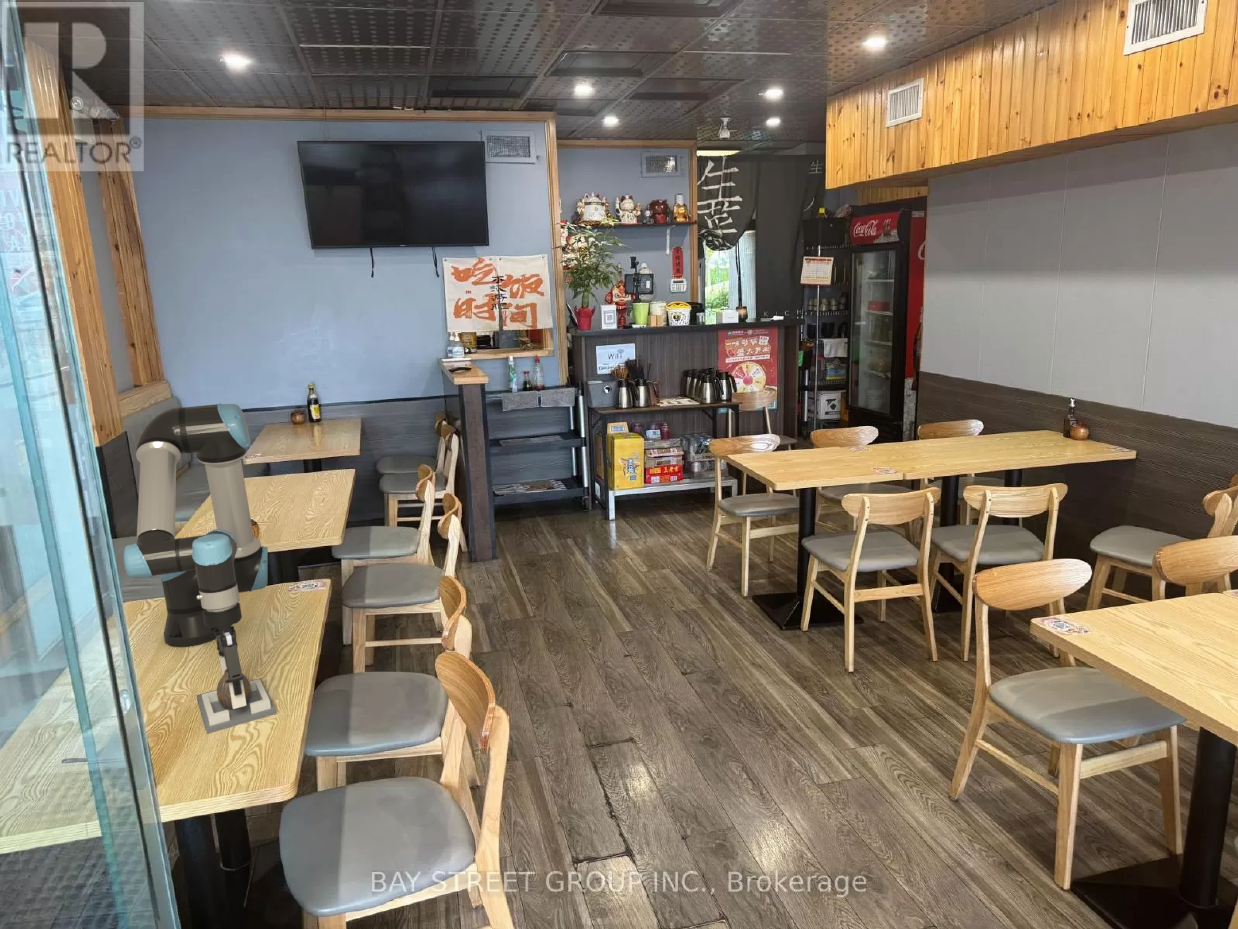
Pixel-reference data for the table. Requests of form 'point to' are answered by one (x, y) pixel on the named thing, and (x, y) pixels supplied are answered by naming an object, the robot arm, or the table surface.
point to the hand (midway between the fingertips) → (234, 694)
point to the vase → (224, 691)
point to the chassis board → (225, 718)
